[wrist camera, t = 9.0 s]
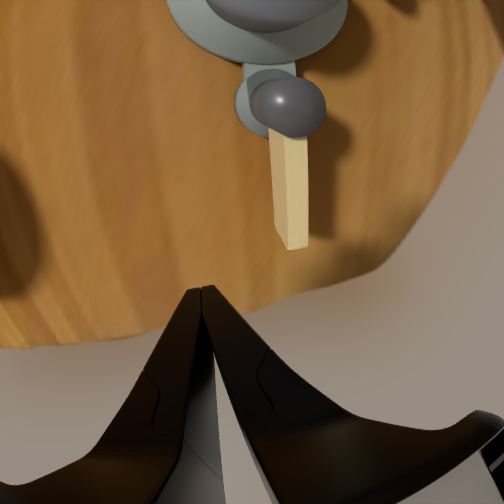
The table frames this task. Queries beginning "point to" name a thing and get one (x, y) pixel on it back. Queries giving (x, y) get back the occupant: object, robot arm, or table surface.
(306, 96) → the mallet
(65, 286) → the table surface
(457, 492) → the robot arm
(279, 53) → the levelling base
